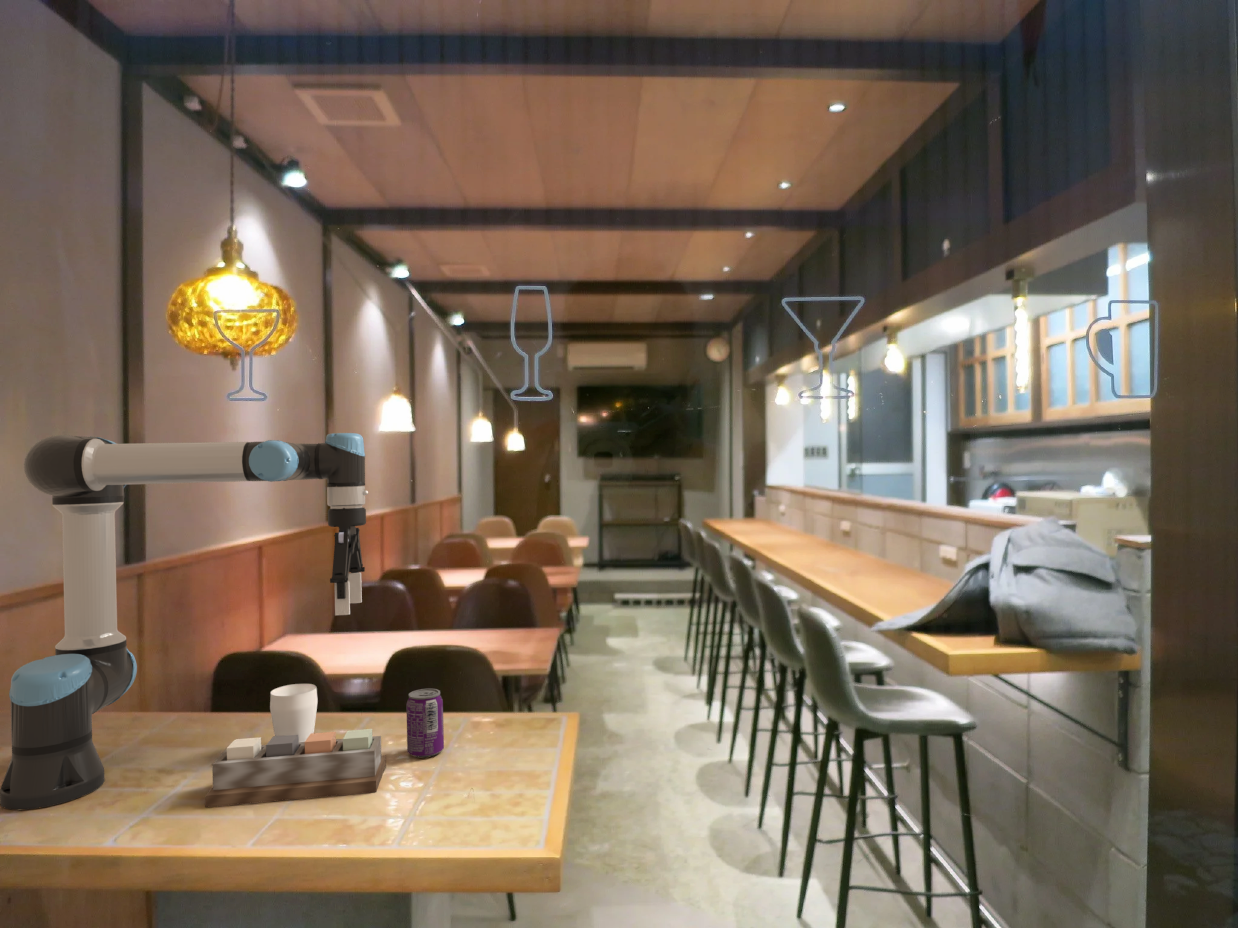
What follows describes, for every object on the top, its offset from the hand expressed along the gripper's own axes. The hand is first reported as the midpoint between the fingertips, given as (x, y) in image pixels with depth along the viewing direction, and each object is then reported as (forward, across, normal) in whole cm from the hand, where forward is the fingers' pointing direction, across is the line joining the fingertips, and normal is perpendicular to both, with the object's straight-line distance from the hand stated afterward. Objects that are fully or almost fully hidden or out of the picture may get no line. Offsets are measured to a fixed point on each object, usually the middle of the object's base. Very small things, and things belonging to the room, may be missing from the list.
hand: (349, 608), depth 157 cm
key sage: (+22, -20, -5) cm, 31 cm away
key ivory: (+22, -20, +15) cm, 34 cm away
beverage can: (+28, -9, -16) cm, 34 cm away
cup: (+28, 0, +11) cm, 30 cm away
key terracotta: (+22, -20, +2) cm, 30 cm away
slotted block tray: (+28, -20, +5) cm, 35 cm away
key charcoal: (+22, -20, +8) cm, 31 cm away
